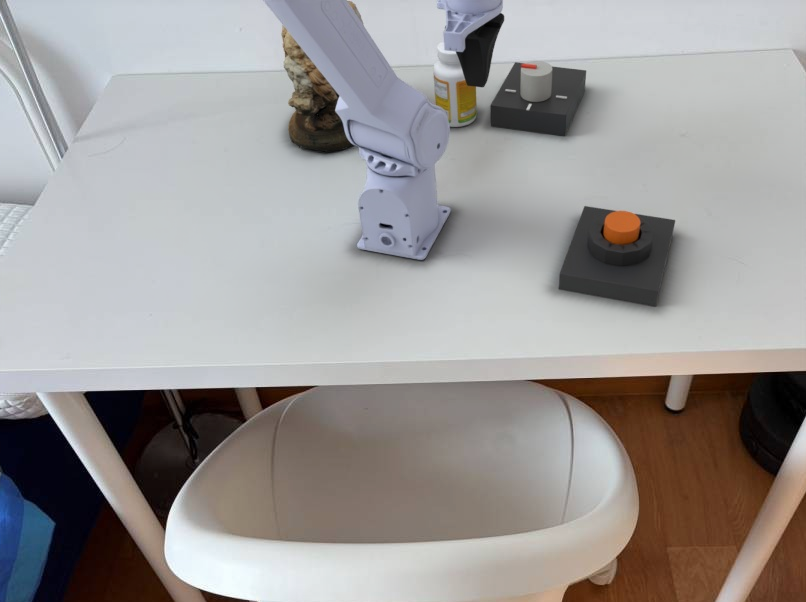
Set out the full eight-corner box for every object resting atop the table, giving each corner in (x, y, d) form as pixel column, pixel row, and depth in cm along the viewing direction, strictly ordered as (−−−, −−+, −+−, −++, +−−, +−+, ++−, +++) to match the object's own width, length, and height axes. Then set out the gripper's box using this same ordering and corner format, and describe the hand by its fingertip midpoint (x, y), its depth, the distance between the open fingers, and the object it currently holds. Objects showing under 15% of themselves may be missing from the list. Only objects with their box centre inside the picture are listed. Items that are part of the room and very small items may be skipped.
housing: (655, 307, 80) (661, 277, 77) (558, 289, 82) (560, 259, 79) (672, 236, 87) (678, 205, 84) (583, 221, 89) (585, 191, 86)
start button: (635, 248, 80) (637, 234, 79) (600, 242, 81) (601, 228, 80) (641, 227, 82) (643, 213, 81) (606, 221, 83) (608, 208, 82)
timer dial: (554, 88, 103) (555, 60, 101) (546, 103, 101) (548, 75, 98) (525, 84, 104) (525, 57, 102) (516, 99, 102) (517, 71, 99)
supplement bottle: (478, 107, 107) (476, 36, 100) (475, 128, 103) (472, 56, 96) (439, 106, 107) (434, 36, 100) (434, 127, 104) (428, 56, 97)
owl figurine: (351, 165, 99) (328, 28, 86) (268, 151, 102) (234, 17, 89) (404, 95, 110) (391, -35, 97) (328, 84, 113) (305, -43, 100)
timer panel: (564, 136, 101) (566, 114, 99) (490, 126, 104) (489, 104, 101) (584, 91, 109) (586, 69, 106) (514, 82, 111) (515, 60, 109)
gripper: (457, -72, 85) (463, 50, 96) (410, -17, 76) (422, 112, 87) (520, -68, 84) (519, 56, 94) (480, -10, 75) (484, 120, 85)
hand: (477, 83), depth 90 cm, fingers closed
